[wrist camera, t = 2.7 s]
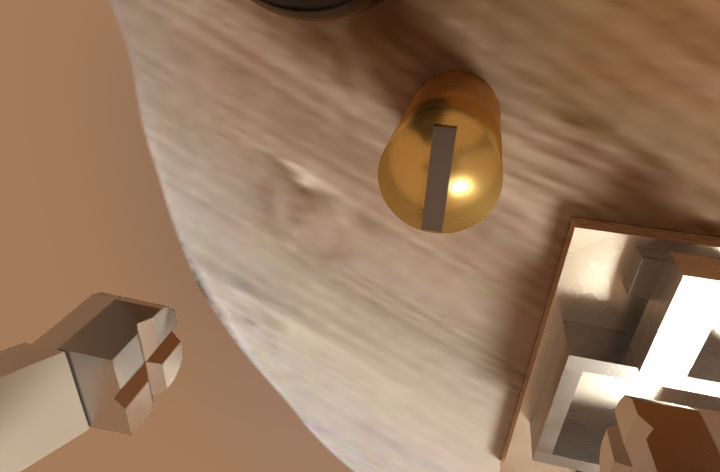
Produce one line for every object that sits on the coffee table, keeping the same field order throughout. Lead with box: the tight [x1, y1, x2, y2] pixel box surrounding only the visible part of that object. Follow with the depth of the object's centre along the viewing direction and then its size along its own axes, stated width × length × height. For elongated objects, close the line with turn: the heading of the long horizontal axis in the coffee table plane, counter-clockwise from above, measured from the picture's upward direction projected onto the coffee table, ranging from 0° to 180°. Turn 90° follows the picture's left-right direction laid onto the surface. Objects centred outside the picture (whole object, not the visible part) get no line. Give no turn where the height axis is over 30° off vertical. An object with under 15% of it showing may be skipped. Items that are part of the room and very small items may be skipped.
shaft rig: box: [500, 217, 720, 472], centre depth 25 cm, size 18×9×4 cm, turn 178°
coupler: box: [378, 72, 503, 233], centre depth 19 cm, size 4×4×7 cm
